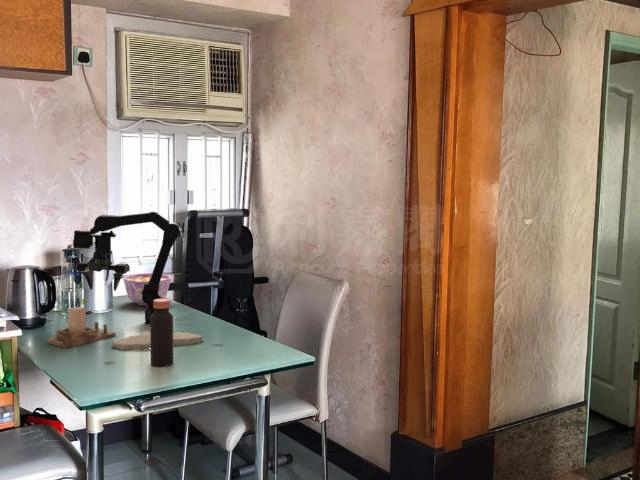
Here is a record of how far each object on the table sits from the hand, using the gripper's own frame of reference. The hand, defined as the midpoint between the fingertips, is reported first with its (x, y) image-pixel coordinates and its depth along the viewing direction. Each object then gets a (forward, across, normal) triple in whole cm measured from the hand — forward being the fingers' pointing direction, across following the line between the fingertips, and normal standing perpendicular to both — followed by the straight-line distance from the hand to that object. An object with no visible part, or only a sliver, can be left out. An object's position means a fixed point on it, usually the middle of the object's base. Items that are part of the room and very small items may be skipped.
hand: (103, 290), depth 252 cm
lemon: (+13, -14, +18) cm, 27 cm away
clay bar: (+12, +1, -24) cm, 26 cm away
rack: (+13, +2, -22) cm, 26 cm away
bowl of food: (+13, +4, +38) cm, 40 cm away
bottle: (+13, +38, -44) cm, 59 cm away
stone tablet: (+14, +28, -20) cm, 37 cm away
